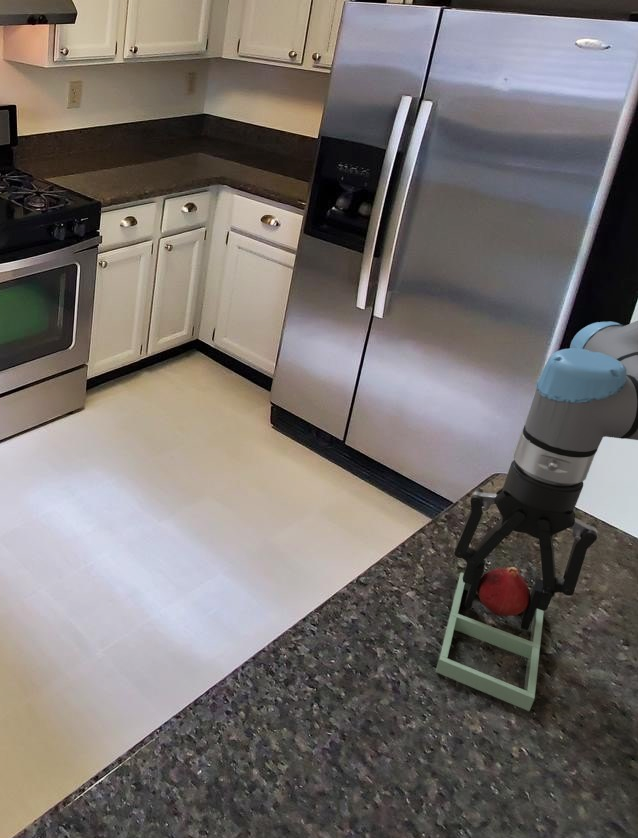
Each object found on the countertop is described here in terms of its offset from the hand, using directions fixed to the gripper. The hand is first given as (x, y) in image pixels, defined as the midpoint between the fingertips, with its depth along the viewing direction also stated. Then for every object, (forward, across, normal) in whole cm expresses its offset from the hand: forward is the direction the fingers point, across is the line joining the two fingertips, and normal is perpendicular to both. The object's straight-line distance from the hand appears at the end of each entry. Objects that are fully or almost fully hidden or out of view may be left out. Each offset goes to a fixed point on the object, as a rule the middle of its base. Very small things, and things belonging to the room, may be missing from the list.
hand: (496, 612), depth 108 cm
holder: (+2, 0, -5) cm, 5 cm away
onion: (0, 0, 0) cm, 0 cm away
